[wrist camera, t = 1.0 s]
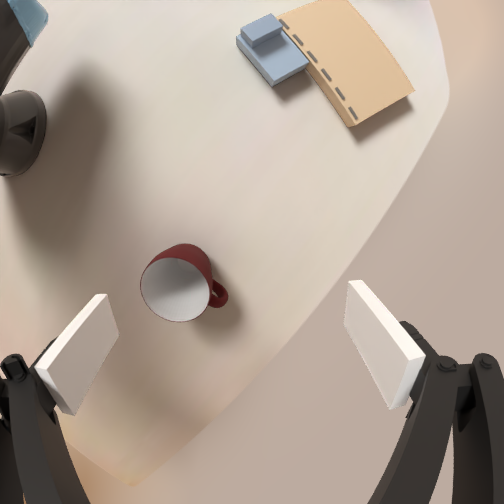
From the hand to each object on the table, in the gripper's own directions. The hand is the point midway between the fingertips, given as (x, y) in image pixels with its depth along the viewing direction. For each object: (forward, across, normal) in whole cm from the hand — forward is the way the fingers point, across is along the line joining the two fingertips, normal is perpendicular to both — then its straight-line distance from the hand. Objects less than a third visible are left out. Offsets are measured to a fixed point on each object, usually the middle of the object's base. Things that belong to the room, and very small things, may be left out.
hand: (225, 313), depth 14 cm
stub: (+24, +6, +22) cm, 34 cm away
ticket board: (+24, +16, +23) cm, 37 cm away
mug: (+24, -6, -6) cm, 26 cm away
